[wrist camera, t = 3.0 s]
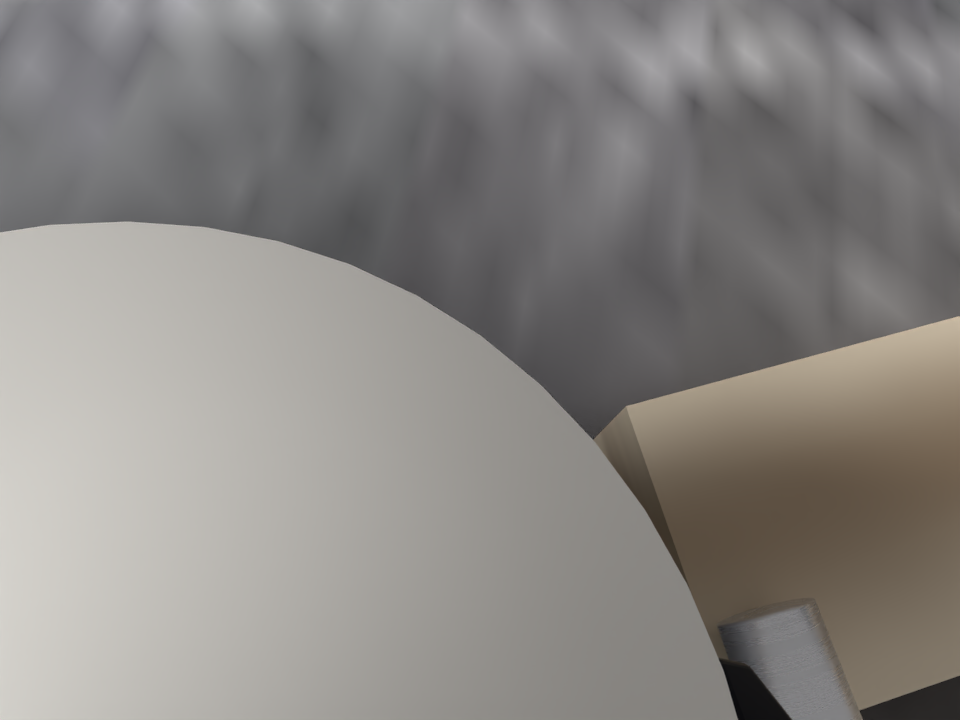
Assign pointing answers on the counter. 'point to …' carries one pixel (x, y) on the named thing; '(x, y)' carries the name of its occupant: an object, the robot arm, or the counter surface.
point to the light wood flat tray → (818, 498)
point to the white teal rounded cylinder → (305, 503)
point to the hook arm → (792, 658)
